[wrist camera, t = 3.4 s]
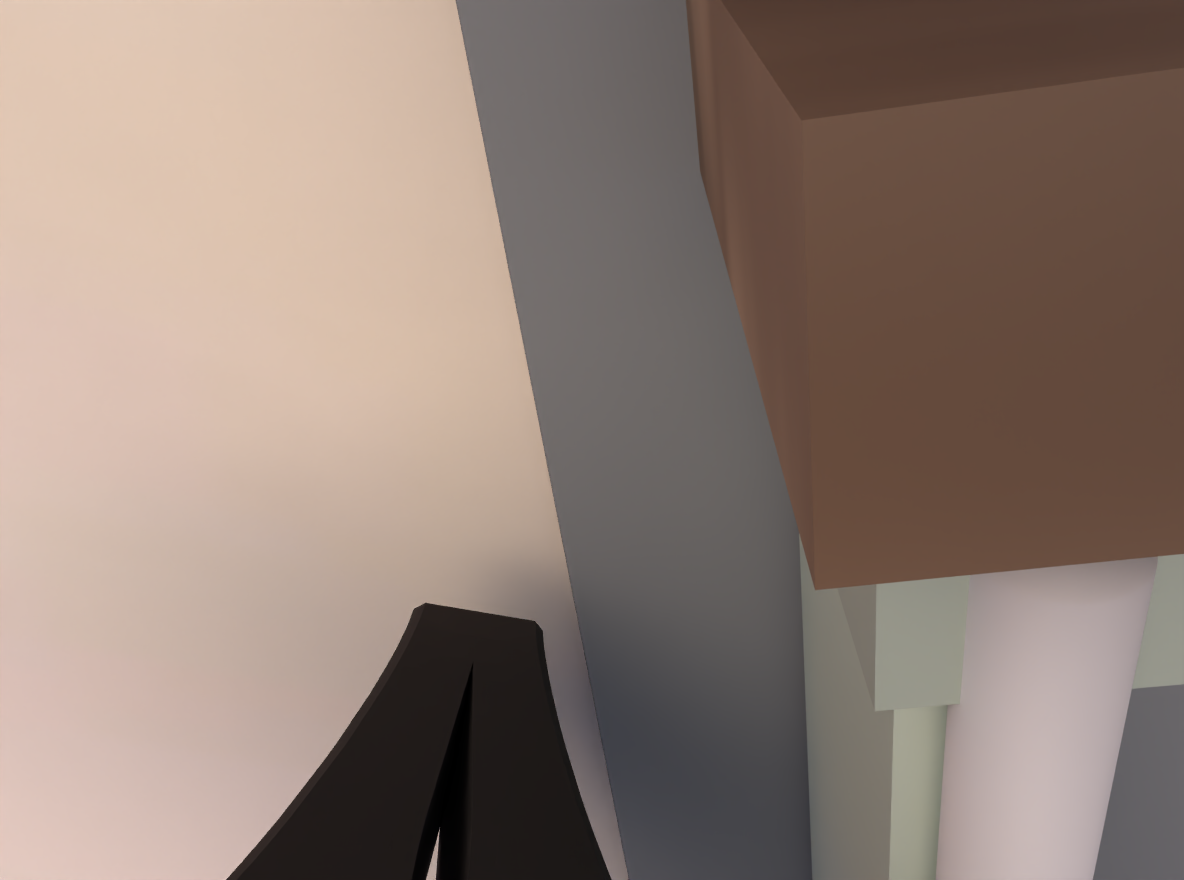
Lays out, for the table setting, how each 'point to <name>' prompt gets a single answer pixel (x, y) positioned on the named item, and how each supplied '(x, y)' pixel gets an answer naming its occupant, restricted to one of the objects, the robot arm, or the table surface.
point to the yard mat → (683, 457)
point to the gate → (978, 715)
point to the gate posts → (956, 271)
